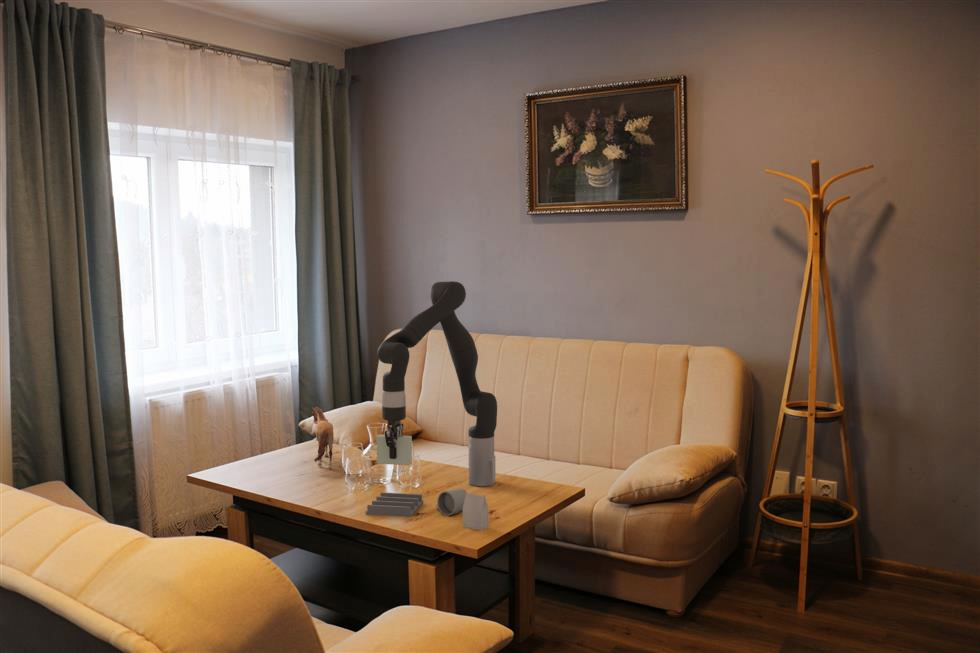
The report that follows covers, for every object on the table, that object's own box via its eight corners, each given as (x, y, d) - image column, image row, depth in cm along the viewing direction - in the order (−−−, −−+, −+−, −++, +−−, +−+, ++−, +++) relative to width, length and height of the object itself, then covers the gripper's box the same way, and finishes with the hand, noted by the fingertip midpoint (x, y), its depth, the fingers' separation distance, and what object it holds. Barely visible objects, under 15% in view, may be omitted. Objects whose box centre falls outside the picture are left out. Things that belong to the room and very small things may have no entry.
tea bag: (481, 530, 246) (481, 497, 246) (462, 526, 250) (462, 494, 249) (488, 527, 249) (488, 494, 249) (469, 523, 253) (469, 491, 252)
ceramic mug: (471, 511, 265) (471, 487, 264) (454, 517, 258) (454, 493, 258) (446, 505, 271) (446, 482, 271) (429, 512, 265) (429, 488, 264)
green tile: (411, 463, 267) (411, 435, 266) (409, 465, 264) (409, 437, 263) (379, 461, 268) (378, 434, 268) (376, 463, 266) (376, 436, 265)
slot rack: (423, 503, 273) (423, 494, 273) (411, 516, 259) (411, 507, 259) (379, 501, 276) (379, 492, 276) (365, 514, 262) (365, 505, 262)
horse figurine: (312, 455, 340) (311, 405, 338) (332, 453, 341) (331, 404, 340) (314, 474, 310) (312, 420, 308) (335, 473, 311) (334, 419, 310)
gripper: (398, 408, 257) (399, 463, 259) (411, 400, 271) (411, 452, 272) (375, 407, 258) (376, 462, 260) (389, 400, 272) (389, 452, 274)
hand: (394, 457), depth 266 cm, fingers closed on green tile, 2 cm apart
